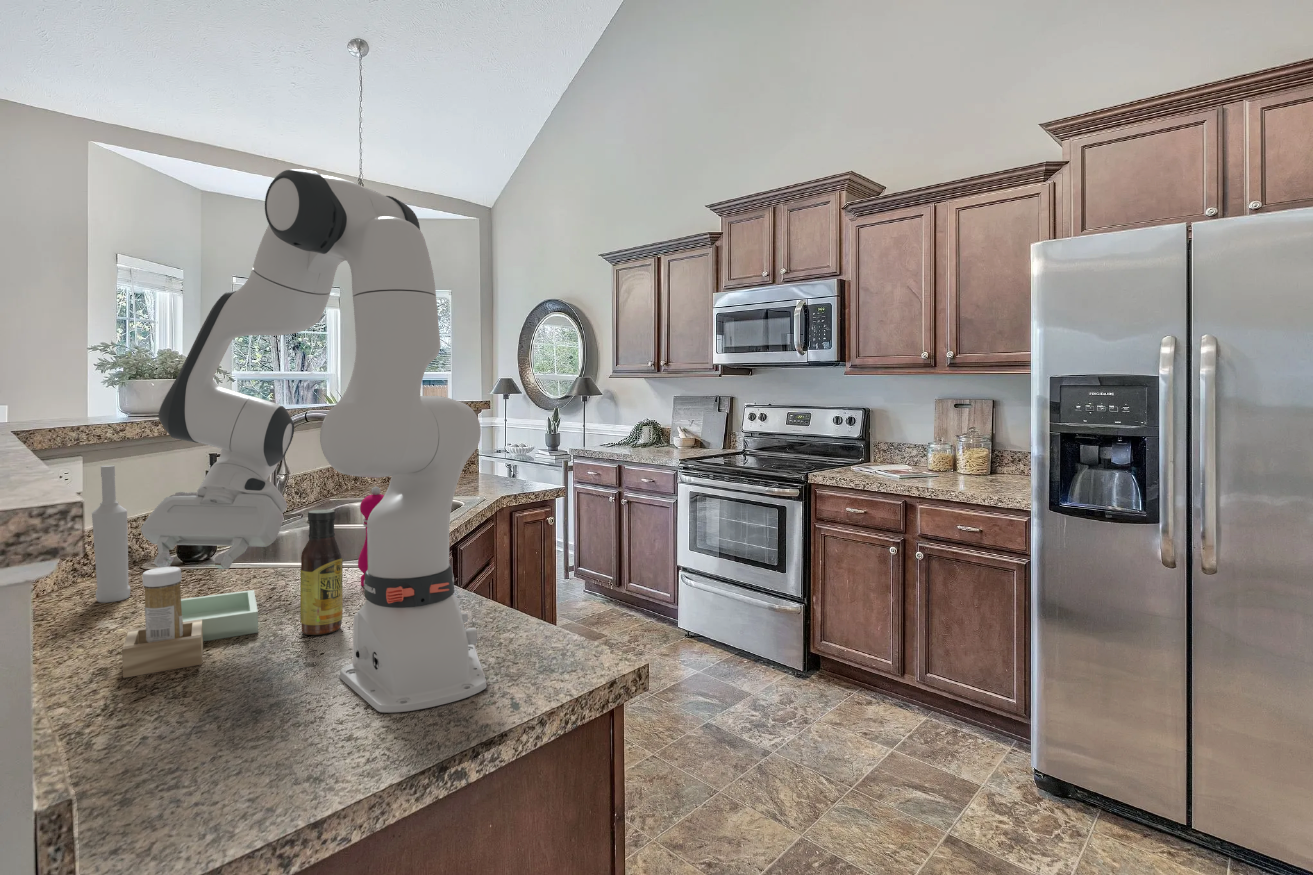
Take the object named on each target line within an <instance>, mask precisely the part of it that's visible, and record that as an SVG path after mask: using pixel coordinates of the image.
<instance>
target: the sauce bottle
mask: <svg viewBox="0 0 1313 875" xmlns="http://www.w3.org/2000/svg"><path fill="white" fill-rule="evenodd" d="M335 520H336V511H335V510H334V509H314V510H309V511H308V512H307V521H308V523H309V524H308V526H309V528H308V529H309V530H308V541H307V543H306V545H304V548H303V549H302V551H301V555H300V560H301V561H300V564H301V566H300V573H299V574H300V592H299V593H300V596H299V597H300V600H299V602H300V610H299V611H300V613H299V614H300V619H299V621H300V623H301V633H303V634H304V635H307V636H321V635H328V634H332V633H334V632H337V631H338V630H340V628H341V627H342V620H343V608H344V606H343V589H344V588H343V587H344V586H343V568H344V567H343V557H342V556H343V555H342V554H341V551H340V549H339V545H338V543H337V540H336V537H335V536H336V534H335Z"/></svg>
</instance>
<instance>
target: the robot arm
mask: <svg viewBox="0 0 1313 875" xmlns="http://www.w3.org/2000/svg"><path fill="white" fill-rule="evenodd" d="M264 214H265V217H266V221H267V224H268V226H267V227H266V230H265V232H264V233H263V236H262V239H261V241H260V244H259V245H258V248H257V251H256V254H255V257H254V261H253V264H252V268H251V271H250V274H249V276H248V278H247V279H246V281H245V282H244V284H243V285H242V286H241V287H240V288H239V289H237V290H232V291H229V290H228V291H226V292H225V293H223V294H222V295H221V296H219V298H218V300H217V301H216V302H215V303H214V305H213V306H212V307H211V310H210V311H209V313H208V315H207V316H206V318H205V320H204V322H203V324H202V325H201V328H200V330H199V331H198V334H197V336H196V337H195V340H194V342H193V344H192V346H191V347H190V350H189V352H188V354H187V357H186V358H185V361H184V363H183V364H182V366H181V368H180V371H179V372H178V375H177V377H176V378H175V380H174V382H173V383H172V385H171V387H170V388H169V390H168V391H167V393H165V395H164V397H163V399H162V401H161V403H160V406H159V411H158V419H159V422H160V424H161V426H162V427H163V428H164V430H165V431H166V432H167V434H168V435H169V436H170V437H171V438H172V439H174V440H175V439H176V440H181V441H186V442H190V443H196V444H198V443H200V444H203V445H207V446H210V447H214V448H218V449H219V450H220V449H221V451H220V455H219V458H218V459H217V461H216V462H214V463H213V465H212V466H211V467H210V468H209V470H208V472H207V474H206V475H205V477H204V479H203V480H202V482H201V484H200V485H199V487H198V489H197V491H195V492H194V491H193V492H191V491H190V492H185V491H179V492H175V493H174V494H172V495H170V496H166V497H165V498H163V500H162V501H161V502H160V503H159V504H157V506H156V507H155V508H154V509H153V511H152V512H151V513H150V514H149V516H148V517H147V518H146V520H145V521H144V523H142V525H141V528H140V530H141V534H142V536H143V537H144V538H146V540H148V541H149V543H151V544H152V545H156V547H157V555H156V557H155V558H154V560H153V563H154V565H155V566H156V568H161V567H171V564H172V563H173V562H174V560H175V558H174V557H173V556H171V554H170V550H171V551H173V549H174V548H175V547H176V546H218V547H223V546H224V547H226V546H227V547H230V548H228V549H227V551H225V552H224V553H218V555H217V556H216V559H215V560H214V565H215V567H216V568H217V569H220V570H221V569H223V570H229V569H230V568H231V565H232V564H233V562H234V560H236V559H237V558H239V557H240V556H241V555H243V553H245V552H246V551H247V549H248V547H263V548H265V547H269V546H270V545H271V544H272V543H274V542H275V541H276V540H277V538H278V535H279V533H280V530H281V528H282V526H283V522H284V514H283V513H284V512H285V511H286V510H287V508H288V502H287V501H286V499H285V497H284V496H283V494H282V493H281V491H280V490H279V489H278V488H277V487H276V485H275V484H274V483H272V481H268V480H269V477H270V476H271V475H272V474H273V473H274V472H275V470H276V468H277V467H278V464H279V463H280V462H281V461H283V460H284V458H285V456H286V453H287V452H288V450H289V447H290V446H291V443H292V440H293V438H294V432H295V423H294V421H293V419H292V417H291V415H290V413H289V412H288V410H287V409H286V408H285V407H284V406H283V405H280V404H279V403H276V402H273V401H270V400H266V399H263V398H260V397H257V396H253V395H249V394H245V393H242V392H240V391H237V390H233V389H229V388H227V387H226V388H225V387H223V386H220V385H218V384H217V383H216V382H215V381H214V376H215V374H216V372H217V370H218V369H219V366H220V365H221V362H222V361H223V358H224V356H225V354H226V352H227V350H228V348H229V346H230V345H231V343H232V341H233V340H234V339H235V338H236V339H237V338H240V337H245V336H246V337H248V336H286V335H293V334H298V333H301V332H304V331H307V330H308V329H310V328H312V327H313V326H314V325H316V324H317V323H318V322H319V321H320V320H321V318H322V316H323V314H324V312H325V310H326V307H327V304H328V302H329V298H330V295H331V291H332V288H333V284H334V281H335V277H336V276H335V275H336V272H337V269H338V267H339V265H340V264H342V263H343V262H344V261H346V262H347V263H348V265H349V269H350V272H351V291H352V303H353V304H352V305H353V315H354V329H355V330H354V331H355V357H354V358H355V360H354V362H353V363H354V364H353V369H352V373H351V377H350V379H349V382H348V385H347V387H346V390H345V391H344V394H343V395H342V396H341V398H340V399H339V401H338V402H336V404H335V405H334V406H333V407H331V408H330V409H329V411H328V412H327V413H326V415H325V416H324V419H323V421H322V423H321V427H320V430H319V432H320V434H319V441H320V448H321V451H322V453H323V455H324V457H325V459H326V461H327V462H328V464H329V465H330V467H332V468H333V469H334V470H335V471H336V472H338V473H340V474H343V475H347V476H353V477H360V478H370V479H371V478H373V479H379V478H386V477H390V481H389V484H388V487H387V490H386V492H385V493H384V494H383V495H384V497H383V499H382V500H381V501H380V502H379V503H378V504H377V505H376V507H375V508H374V509H373V510H372V511H371V513H370V515H369V517H368V521H367V550H368V570H367V571H366V572H365V580H364V586H363V589H364V598H365V599H366V600H365V602H364V603H363V605H362V607H361V608H360V609H359V610H358V611H357V612H356V613H355V614H354V615H353V625H352V629H353V630H352V632H353V633H352V662H351V663H349V664H347V665H345V666H343V667H342V668H341V669H340V670H339V679H340V680H341V681H343V682H344V683H345V684H346V685H347V686H348V687H349V688H350V689H352V691H354V692H355V693H356V694H358V696H360V697H361V698H362V699H363V700H364V701H365V702H366V703H368V704H369V705H370V706H371V707H372V708H373V709H374V710H376V711H377V712H379V713H402V712H410V711H418V710H424V709H428V708H432V707H433V708H434V707H438V706H441V705H446V704H449V703H453V702H457V701H460V700H463V699H466V698H469V697H472V696H474V695H476V694H479V693H480V692H482V691H484V690H485V689H486V688H487V687H488V686H487V680H486V676H485V673H484V670H483V667H482V664H481V661H480V659H479V655H478V653H477V650H476V646H475V645H476V644H478V631H477V628H476V627H467V628H465V624H464V623H468V620H469V617H468V612H462V611H461V607H460V598H458V597H457V596H456V595H454V594H455V577H454V576H455V575H454V573H453V566H452V565H451V564H450V530H451V529H450V525H451V524H450V522H451V511H452V505H453V501H454V497H455V493H456V490H457V487H458V482H459V480H460V477H461V474H462V472H463V470H464V468H465V465H466V464H467V461H468V460H469V459H470V457H472V455H473V454H474V453H475V452H476V450H477V448H478V447H479V444H480V442H481V434H482V433H481V431H482V430H481V424H480V420H479V417H478V416H477V414H476V413H475V411H474V410H473V408H472V407H470V406H469V405H468V404H466V403H464V402H463V401H458V400H456V399H454V398H453V399H452V398H449V397H446V396H442V395H421V389H422V382H423V378H424V375H425V372H426V369H427V368H428V365H429V364H431V363H432V362H433V361H434V360H436V358H437V357H438V355H439V353H440V350H441V337H440V326H439V315H438V314H439V313H438V302H437V293H436V283H435V277H434V270H433V267H432V266H433V265H432V261H431V257H430V253H429V249H428V246H427V243H426V239H425V237H424V235H423V232H422V231H421V228H420V223H419V219H418V216H417V215H416V213H415V212H414V210H412V209H411V208H410V207H409V206H408V205H407V204H405V203H404V202H402V201H401V200H399V199H397V198H395V197H394V196H392V195H391V196H390V195H385V194H382V193H380V192H378V191H376V190H373V189H370V188H368V187H365V186H362V185H361V184H360V183H358V182H353V181H351V180H347V179H343V178H340V177H335V176H331V175H325V174H320V173H318V172H317V171H314V170H307V169H294V168H293V169H285V170H283V171H281V172H279V174H277V175H275V177H274V179H273V180H272V181H271V183H270V184H269V186H268V188H267V190H266V194H265V197H264Z"/></svg>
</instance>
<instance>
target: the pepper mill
mask: <svg viewBox="0 0 1313 875" xmlns="http://www.w3.org/2000/svg"><path fill="white" fill-rule="evenodd" d="M370 491H371V494H370V495H367V496H365V497H364V498H363V499H362V500H361V502H360V506H359V509H360V513H361V515H363V517H364V518H363V520H362V521H363V524H362V526H363V527H365V539H364V543H363V545H362V548H361V550H360V553H359V556H358V559H357V560H358V561H357V567H358V569H359V570H360V571H361V573H363V574H362V575H360V585H361V586H362V587H364V580H365V572H366V571H367V570H368V550H367V521H368V517H369V515H370V513H371V511H372V510H373V509H374V508H375V507H376V505H377V504H378V503H379V502H380V501H381V500H382V499H383V497H384V495H385V494H381V491H382V490H381V488H380V487H379V486H374V487H372V488H371V490H370Z"/></svg>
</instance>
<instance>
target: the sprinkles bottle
mask: <svg viewBox="0 0 1313 875" xmlns="http://www.w3.org/2000/svg"><path fill="white" fill-rule="evenodd" d="M181 581H182V569H181V568H180V567H178V566H170V567H155V568H151V569H148V570H146V571H144V572H143V573H142V586H143V590H144V603H145V604H144V616H145V617H144V619H145V627H146V641H147V643H150V642H156V641H163V640H170V639H176V638H183V619H182V610H181V599H182V593H181V583H182V582H181Z"/></svg>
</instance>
